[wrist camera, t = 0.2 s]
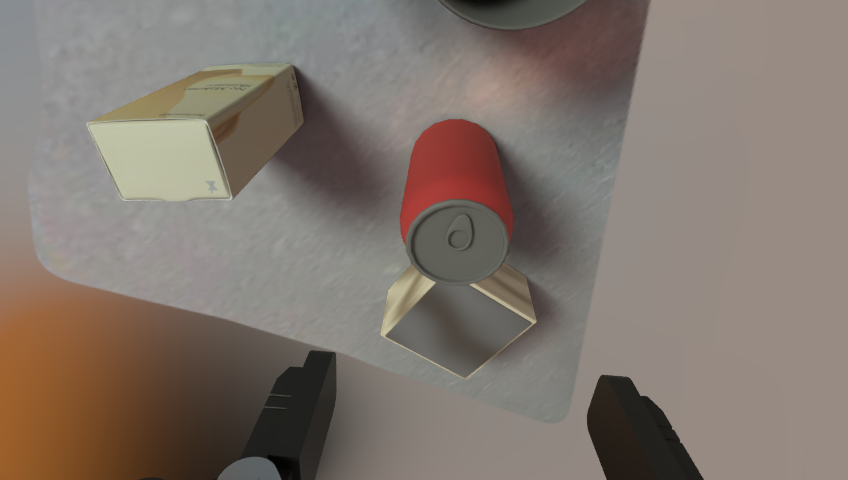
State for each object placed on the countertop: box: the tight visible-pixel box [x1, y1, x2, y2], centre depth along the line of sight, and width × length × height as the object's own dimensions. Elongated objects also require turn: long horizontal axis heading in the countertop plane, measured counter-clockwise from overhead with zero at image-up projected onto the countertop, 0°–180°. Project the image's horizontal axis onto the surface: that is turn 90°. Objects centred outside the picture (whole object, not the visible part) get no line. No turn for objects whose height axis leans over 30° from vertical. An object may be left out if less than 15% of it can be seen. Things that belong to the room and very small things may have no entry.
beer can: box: [400, 119, 514, 286], centre depth 28 cm, size 7×7×12 cm
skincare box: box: [86, 64, 304, 201], centre depth 26 cm, size 6×4×12 cm
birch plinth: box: [381, 262, 537, 380], centre depth 37 cm, size 9×9×6 cm
